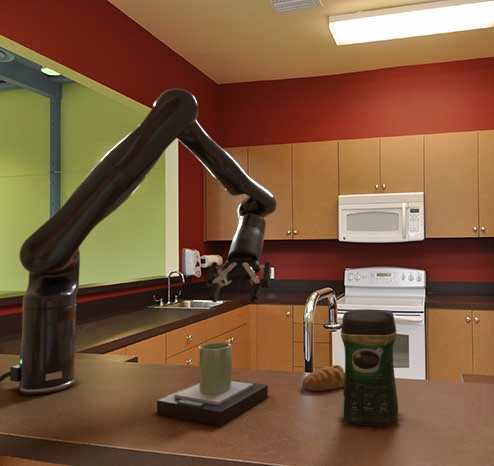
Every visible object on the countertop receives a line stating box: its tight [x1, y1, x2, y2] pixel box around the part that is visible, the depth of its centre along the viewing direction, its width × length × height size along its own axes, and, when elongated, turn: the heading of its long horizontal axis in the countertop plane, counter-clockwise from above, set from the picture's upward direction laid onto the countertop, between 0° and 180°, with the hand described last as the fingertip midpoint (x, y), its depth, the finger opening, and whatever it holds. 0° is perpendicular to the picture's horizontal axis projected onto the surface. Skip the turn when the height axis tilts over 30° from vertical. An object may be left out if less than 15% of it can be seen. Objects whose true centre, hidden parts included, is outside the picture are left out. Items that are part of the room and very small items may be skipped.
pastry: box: [301, 364, 345, 392], centre depth 85 cm, size 9×7×4 cm
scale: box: [156, 379, 269, 427], centre depth 75 cm, size 14×14×3 cm
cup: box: [198, 341, 233, 394], centre depth 76 cm, size 6×6×8 cm
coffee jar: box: [340, 308, 399, 426], centre depth 70 cm, size 10×8×19 cm
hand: (233, 300), depth 88 cm, fingers open, 8 cm apart
